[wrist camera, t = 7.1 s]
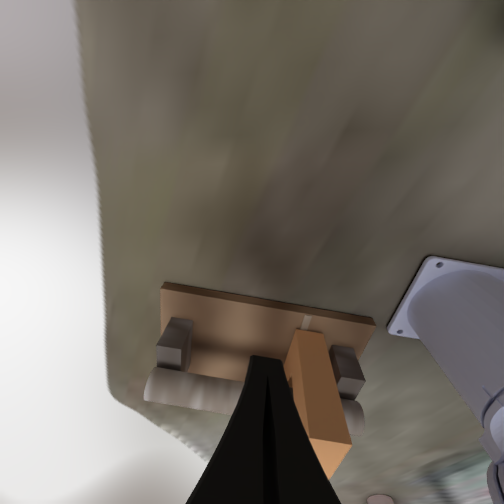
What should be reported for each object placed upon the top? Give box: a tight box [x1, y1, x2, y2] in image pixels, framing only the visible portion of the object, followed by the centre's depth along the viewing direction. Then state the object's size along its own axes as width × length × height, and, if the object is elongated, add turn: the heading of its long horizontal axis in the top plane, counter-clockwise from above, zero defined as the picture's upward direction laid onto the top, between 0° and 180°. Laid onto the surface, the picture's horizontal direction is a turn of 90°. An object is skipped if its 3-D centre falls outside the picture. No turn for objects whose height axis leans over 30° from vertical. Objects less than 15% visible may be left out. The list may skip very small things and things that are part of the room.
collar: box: [283, 329, 352, 480], centre depth 20 cm, size 2×9×9 cm, turn 171°
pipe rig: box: [144, 282, 376, 436], centre depth 22 cm, size 19×12×7 cm, turn 81°
